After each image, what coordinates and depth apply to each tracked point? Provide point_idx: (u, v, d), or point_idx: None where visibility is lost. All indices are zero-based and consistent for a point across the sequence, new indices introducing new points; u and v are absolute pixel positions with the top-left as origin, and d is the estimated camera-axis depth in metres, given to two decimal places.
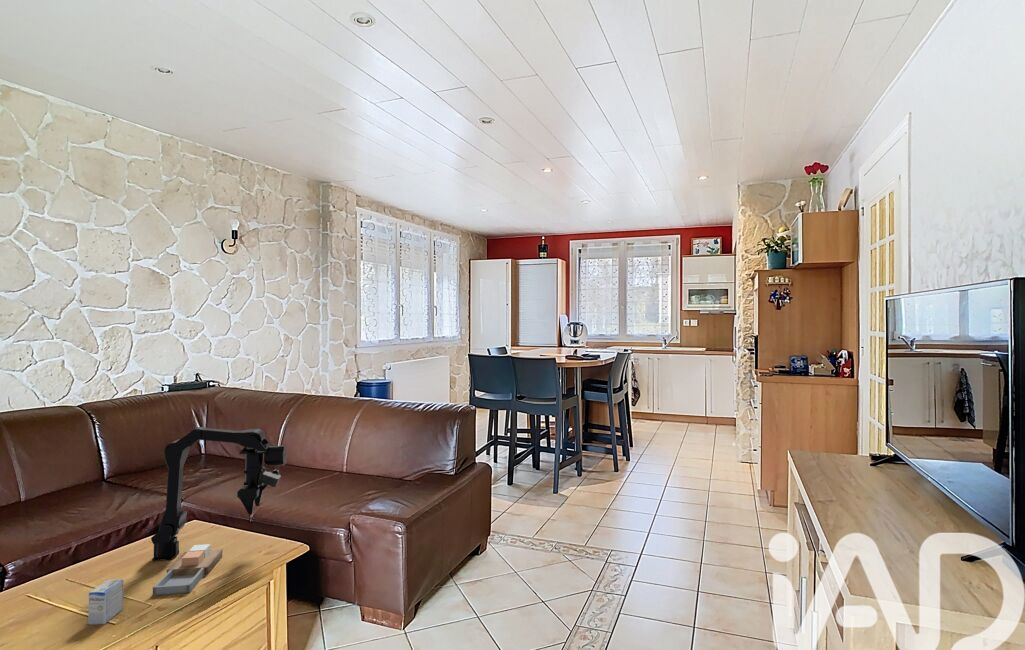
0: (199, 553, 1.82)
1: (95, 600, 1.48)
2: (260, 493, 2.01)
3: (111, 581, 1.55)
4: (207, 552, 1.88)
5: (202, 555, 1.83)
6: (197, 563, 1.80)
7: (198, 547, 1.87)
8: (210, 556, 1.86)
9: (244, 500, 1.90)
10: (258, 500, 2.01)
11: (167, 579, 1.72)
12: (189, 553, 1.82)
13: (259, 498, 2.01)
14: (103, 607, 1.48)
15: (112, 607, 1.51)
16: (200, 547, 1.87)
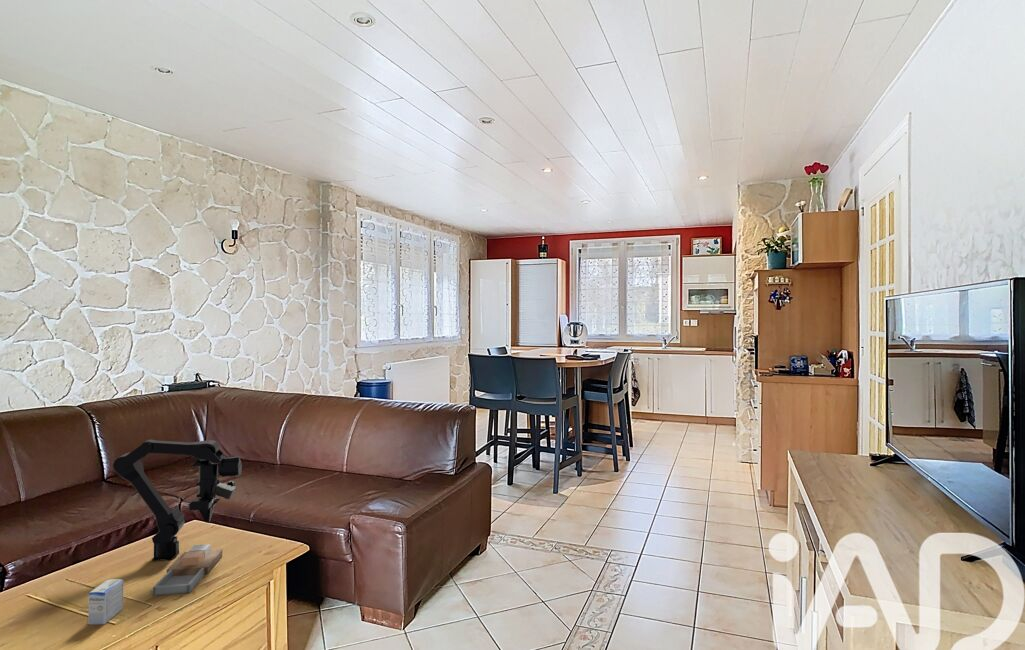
0: (199, 553, 1.82)
1: (95, 600, 1.48)
2: None
3: (111, 581, 1.55)
4: (207, 552, 1.88)
5: (202, 555, 1.83)
6: (197, 563, 1.80)
7: (198, 547, 1.87)
8: (210, 556, 1.86)
9: None
10: None
11: (167, 579, 1.72)
12: (189, 553, 1.82)
13: None
14: (103, 607, 1.48)
15: (112, 607, 1.51)
16: (200, 547, 1.87)
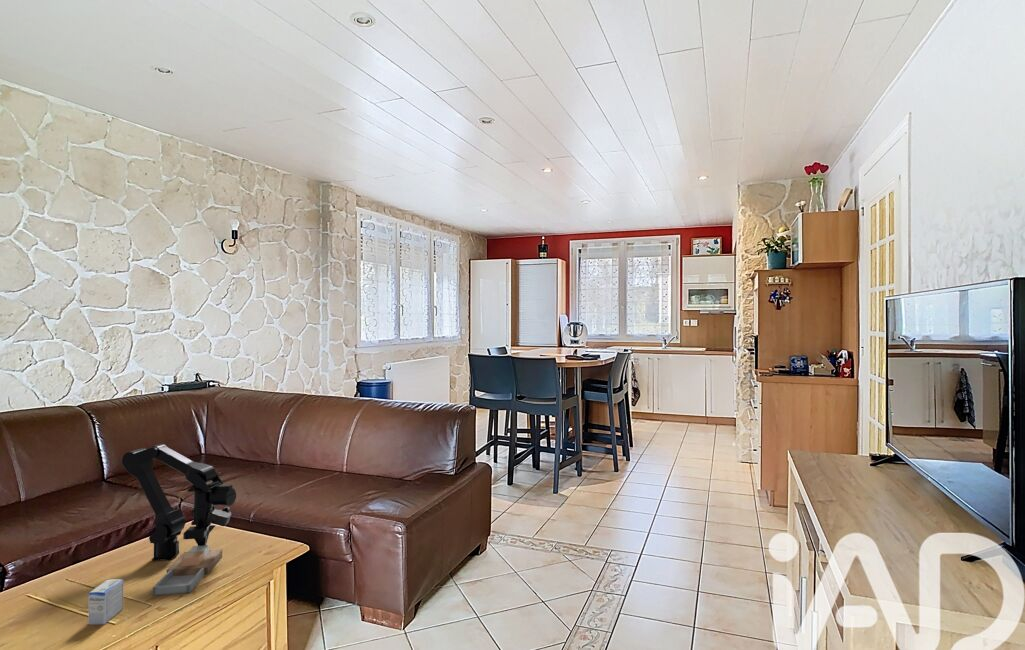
0: (199, 553, 1.82)
1: (95, 600, 1.48)
2: None
3: (111, 581, 1.55)
4: (206, 553, 1.87)
5: (202, 555, 1.83)
6: (197, 563, 1.79)
7: (197, 548, 1.86)
8: (210, 556, 1.86)
9: None
10: None
11: (167, 579, 1.72)
12: (189, 553, 1.82)
13: None
14: (103, 607, 1.48)
15: (112, 607, 1.51)
16: (199, 549, 1.86)
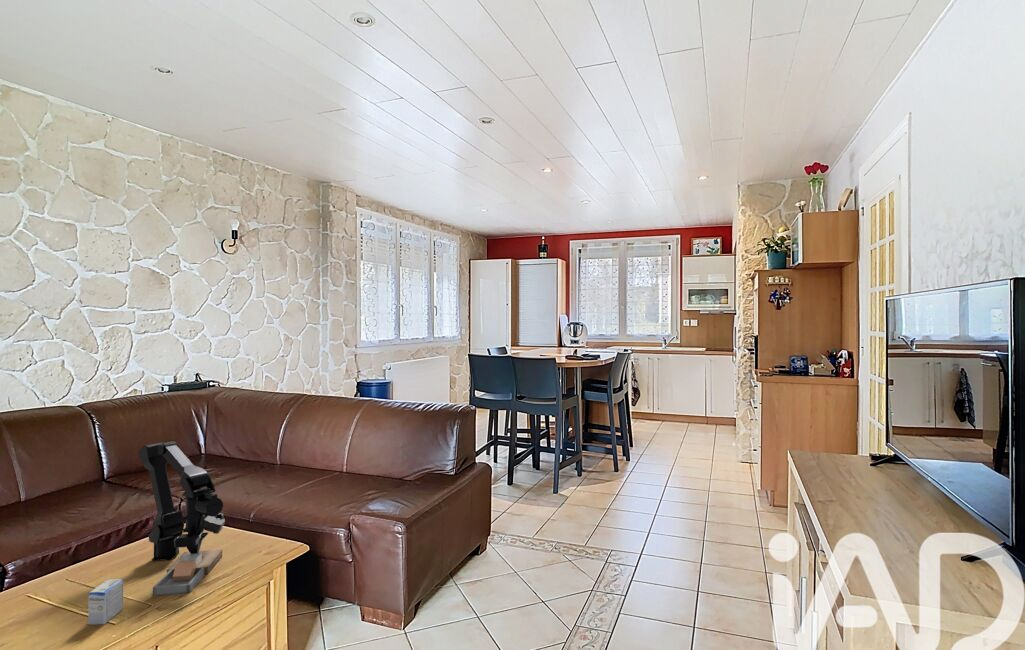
0: (190, 566, 1.75)
1: (95, 600, 1.48)
2: (198, 544, 1.84)
3: (111, 581, 1.55)
4: (198, 561, 1.80)
5: (194, 566, 1.76)
6: (190, 579, 1.73)
7: (189, 556, 1.80)
8: (210, 556, 1.86)
9: None
10: None
11: (167, 579, 1.72)
12: (179, 565, 1.75)
13: None
14: (103, 607, 1.48)
15: (112, 607, 1.51)
16: (191, 557, 1.79)
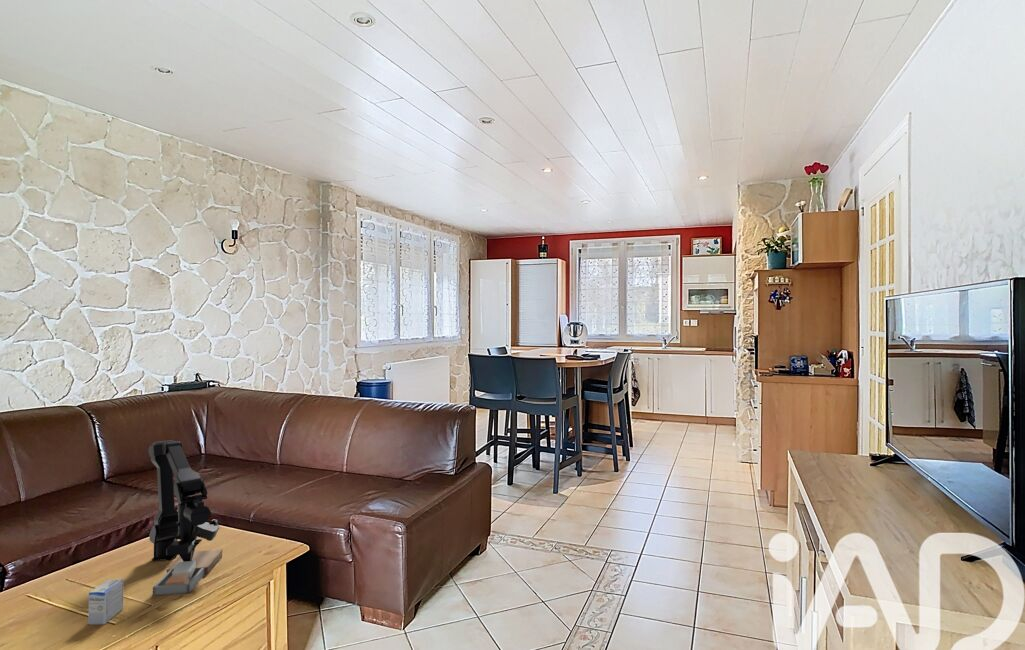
0: (184, 577, 1.70)
1: (95, 600, 1.48)
2: None
3: (111, 581, 1.55)
4: (192, 571, 1.75)
5: (187, 579, 1.71)
6: None
7: (182, 566, 1.74)
8: (210, 556, 1.86)
9: None
10: None
11: (167, 579, 1.72)
12: (173, 577, 1.70)
13: None
14: (103, 607, 1.48)
15: (112, 607, 1.51)
16: (184, 567, 1.74)
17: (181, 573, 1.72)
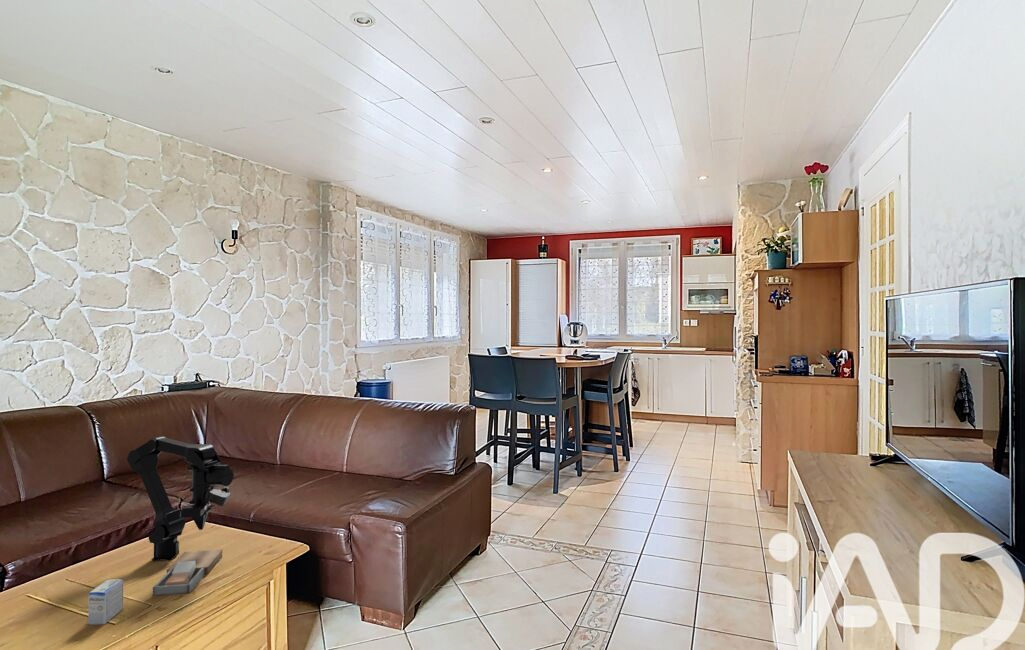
0: (184, 577, 1.70)
1: (95, 600, 1.48)
2: None
3: (111, 581, 1.55)
4: (192, 571, 1.75)
5: (187, 579, 1.71)
6: None
7: (182, 566, 1.74)
8: (210, 556, 1.86)
9: None
10: None
11: (167, 579, 1.72)
12: (173, 577, 1.70)
13: None
14: (103, 607, 1.48)
15: (112, 607, 1.51)
16: (184, 567, 1.74)
17: (181, 573, 1.72)
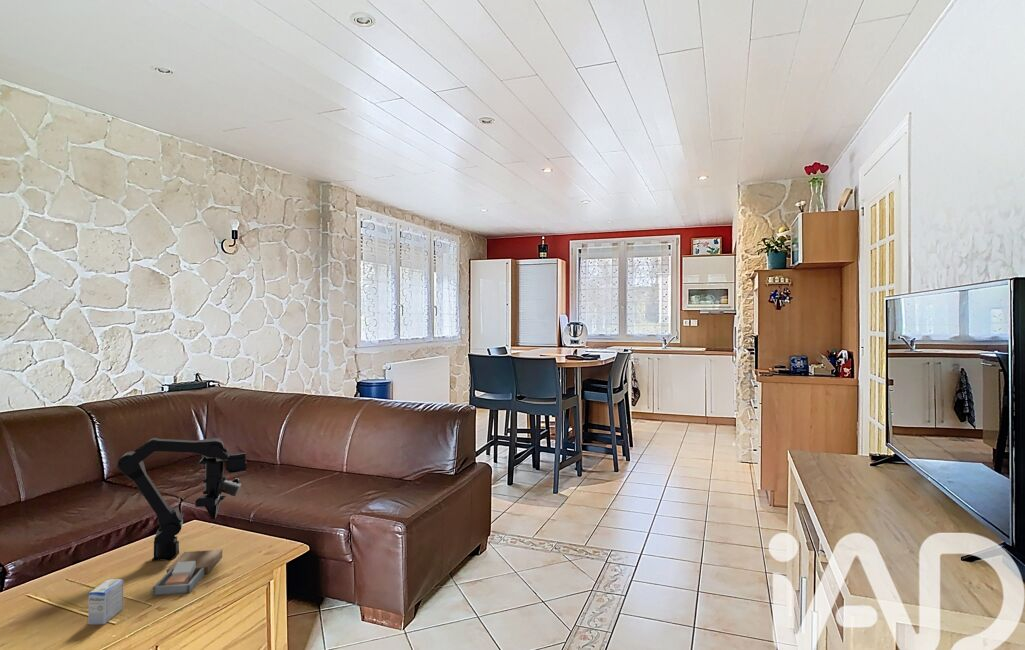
0: (184, 577, 1.70)
1: (95, 600, 1.48)
2: None
3: (111, 581, 1.55)
4: (192, 571, 1.75)
5: (187, 579, 1.71)
6: None
7: (182, 566, 1.74)
8: (210, 556, 1.86)
9: None
10: None
11: (167, 579, 1.72)
12: (173, 577, 1.70)
13: None
14: (103, 607, 1.48)
15: (112, 607, 1.51)
16: (184, 567, 1.74)
17: (181, 573, 1.72)
